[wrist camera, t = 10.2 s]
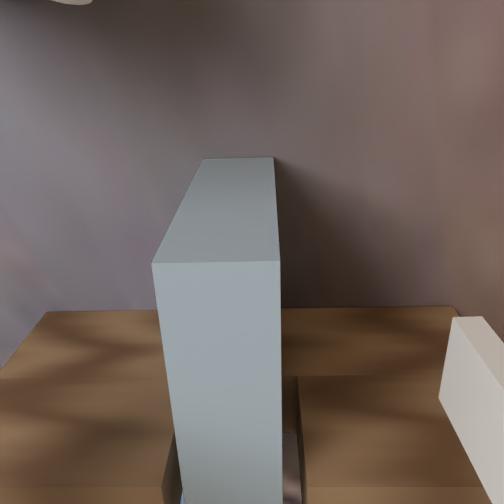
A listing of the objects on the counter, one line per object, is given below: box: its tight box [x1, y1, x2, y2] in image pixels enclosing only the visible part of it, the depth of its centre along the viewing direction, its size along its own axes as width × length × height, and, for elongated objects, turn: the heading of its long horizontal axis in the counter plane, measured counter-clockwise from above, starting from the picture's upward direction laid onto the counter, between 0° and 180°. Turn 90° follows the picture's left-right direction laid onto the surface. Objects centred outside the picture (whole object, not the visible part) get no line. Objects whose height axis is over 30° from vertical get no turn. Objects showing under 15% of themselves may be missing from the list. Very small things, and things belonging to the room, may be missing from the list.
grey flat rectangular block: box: [151, 157, 283, 504], centre depth 19 cm, size 3×18×10 cm, turn 2°
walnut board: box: [0, 306, 492, 504], centre depth 19 cm, size 20×3×10 cm, turn 92°
